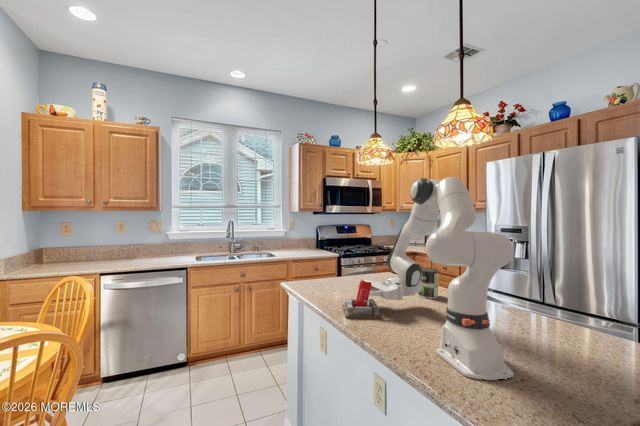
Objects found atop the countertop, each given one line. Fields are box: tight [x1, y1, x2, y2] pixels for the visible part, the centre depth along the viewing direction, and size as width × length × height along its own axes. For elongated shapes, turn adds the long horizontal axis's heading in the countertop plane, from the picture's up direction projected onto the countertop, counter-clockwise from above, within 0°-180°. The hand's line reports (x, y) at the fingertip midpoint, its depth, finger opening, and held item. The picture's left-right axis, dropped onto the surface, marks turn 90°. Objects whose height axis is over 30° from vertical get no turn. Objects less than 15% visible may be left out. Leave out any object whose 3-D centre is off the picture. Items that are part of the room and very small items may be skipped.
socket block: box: [341, 298, 383, 320], centre depth 137 cm, size 15×15×4 cm
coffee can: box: [417, 267, 439, 300], centre depth 165 cm, size 10×10×14 cm
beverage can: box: [355, 279, 372, 307], centre depth 139 cm, size 5×5×12 cm
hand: (364, 290), depth 138 cm, fingers open, 8 cm apart
